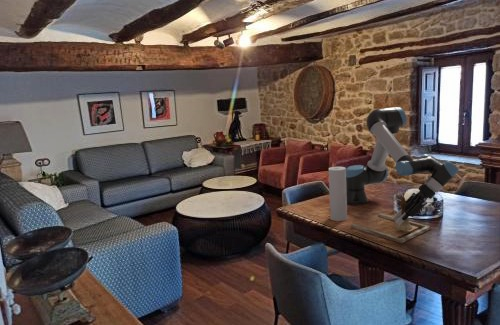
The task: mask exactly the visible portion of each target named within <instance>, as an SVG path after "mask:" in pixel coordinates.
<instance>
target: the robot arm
mask: <svg viewBox="0 0 500 325" xmlns="http://www.w3.org/2000/svg"><path fill="white" fill-rule="evenodd" d="M406 124H407V113H406V111H405V110H404V109H403V108H401V107H399V106H397V107H395V106H393V107H384V108H375V109H373V110H371V112H370V113H369V114H368V115H367V117H366V127H367V130H368V131H369V132H370V134H371V135H372V136H375V137H376V141H375V146H374V149H373V152H372V155H371V159H370V160H368V161H367V164H366V166H364V165H361V164H355V165H350V166H348V167H346V196H347V205H352V206H362V205H365V204H368V200H369V199H368V197H367V193H366V189H365V186H366V185H367V186H368V185H375V184H380V183H384V182H385V181H386V180H387V178H388V174H389V173H388V168H387V165H386V164H385V163H386V161H387V158H388V156H390V158H392V160H393V161H394V162H395V167H394V168H395V170H396V173H397V175H399V176H400V177H402V176H403V177H408V176H412V175H419V174H425V173H429V174H430V176H429V177H428V178H427V179H426V180H425V181H424V183H422V184H421V185H420V186H419V187H418V190H419V191H418V192H413V193H412V194H411V195H410V196H409V197H408V198H407V199H405V200H406V207H405V213H404V214H403V215H402V214H401V213H402V209H401V208H400V210H399V211H397V213H395V215H394V216H393V218H392V219H393V220H392V221H393V222H395V223H396V225H397V224H398V225H399V226H400V225H401V224H402V223H403V222H404V221H405V220H406V219H407V218H408V219H409V218H410V217H415V215H417V213H418V212H420V211H421V210H422V209H423V208H424V207H425V206H427V205H428V202H427V200H428V199H432V198H434V197H435V196H436V195H437V194H436V193H439V191H441V190H442V189H443V188H444V187H445V186H446V185H447V184H448V183H449V182H451V180H453V178H455V176H456V175H457V173H459V167H457V166H456V165H455V164H454V163H453V162H452V161H450V160H445V161H444V162H442V161H440V160H439V159H437V158H436V157H434V156H433V155H431V154H428V153H425V154H424V153H423V154H422V155H420V156H419V157H418V158H414V159H413V158H412V156H410V154H409V153H408V152H407V151H406V149H405V148H404V146H402V144H401V143H400V142H399V141H398V139H397V138H396V137H395V134H397V133H398V132H399V130H400V128H402V127H404V126H406ZM401 215H402V216H401ZM400 216H401V217H400ZM399 217H400V218H399Z"/></svg>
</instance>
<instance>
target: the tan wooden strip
mask: <svg viewBox="0 0 500 325" xmlns="http://www.w3.org/2000/svg"><path fill="white" fill-rule="evenodd" d="M411 226H412V229H411V230H407V231H402V230H397V231H395V232H393V233H391V234H390V235H391V236H394V237H397V238H401V237H402V236H404V235H406V234H407V235H408V234H409V233H410V232H414V231H416V230H417V229H419V227H418V226H414V225H411Z"/></svg>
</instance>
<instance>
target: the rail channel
mask: <svg viewBox="0 0 500 325" xmlns="http://www.w3.org/2000/svg"><path fill="white" fill-rule="evenodd" d="M377 216H378V217H379V218H383V219H387V220H390V221H394V220H393V219H392V218H393V217H394V216H392V215H388V214H385V213H380V212H379V213H378V215H377ZM409 224H410V225H414V226H418V227H419V228H420V229H419V228H418V230H417V229H416V230H414V231H412V233H410V234H409V233H408V234H407V235H405V236H403V237H398V238H397V237H394V236H391V234H387V233H384V232H381V231H377V230H375V229H371V228H370V227H369V228H368V227H365V226H361V225H358V224H355V223H351V224H350V227H351V228H353V229H356V230H359V231H362V232H365V233H368V234H372V235H373V236H374V235H375V236H376V237H377V236H378V237H381V238H385V239H387V240H390V241H393V242H396V243H400V244H403V243H405V242H407V241H410V240H411V239H413V238H415V237H418V236H420V235H421V234H423V233H425V232H428V231H430V230H431V225H426V224H422V223H418V222H415V221H411V220H409Z"/></svg>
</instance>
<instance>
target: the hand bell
mask: <svg viewBox="0 0 500 325" xmlns="http://www.w3.org/2000/svg"><path fill="white" fill-rule="evenodd" d="M406 200H407V199H406V198H405V196H401V199H400V203H399V205H400V210H401V209H402V213H401V214H402V215H403V214H404V213H405V207H406ZM402 215H401V216H402ZM401 216H400V217H401ZM400 217H399V218H400ZM409 221H410V220H409V217H408V218H407V219H406V220H405V221H404V222H403V223H402V224H401V225H400V226H399V225H398V224H397V223H396V224H395V225H394V228H395V230H397V231H400V230H402V231H407V230H411V229H412V226H411V225H410V224H409Z"/></svg>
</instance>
